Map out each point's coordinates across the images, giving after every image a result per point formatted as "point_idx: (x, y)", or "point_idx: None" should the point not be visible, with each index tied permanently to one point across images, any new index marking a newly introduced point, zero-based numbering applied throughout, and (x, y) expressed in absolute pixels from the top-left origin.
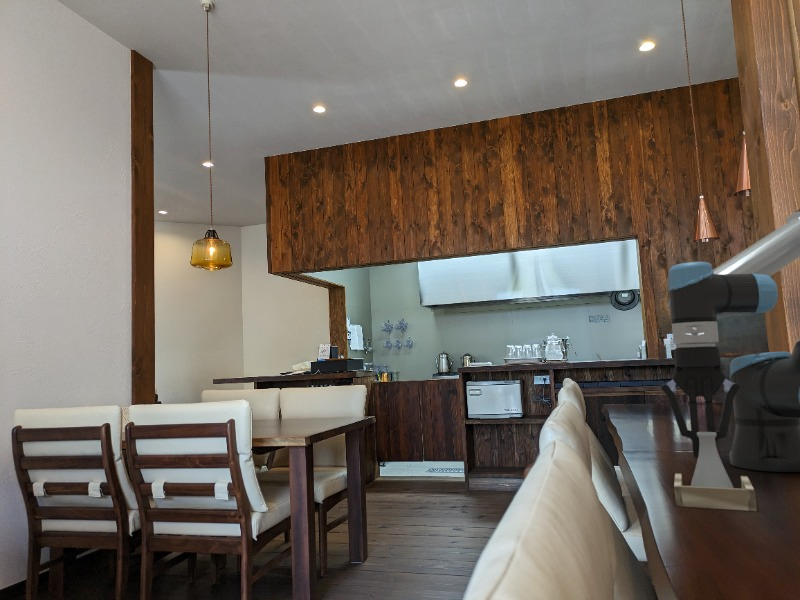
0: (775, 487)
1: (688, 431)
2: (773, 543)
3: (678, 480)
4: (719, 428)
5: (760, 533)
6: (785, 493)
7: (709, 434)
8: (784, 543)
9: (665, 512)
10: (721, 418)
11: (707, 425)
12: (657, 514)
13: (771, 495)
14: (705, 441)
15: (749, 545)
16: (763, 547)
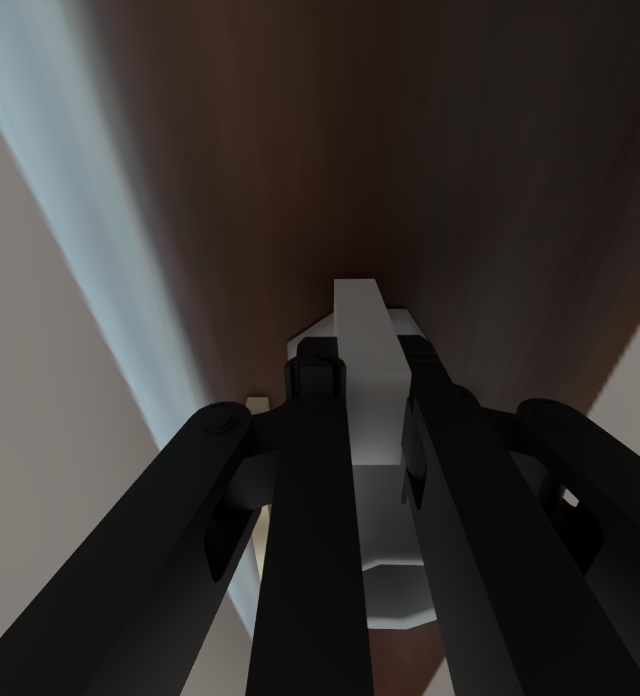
0: (622, 239)
1: (263, 501)
2: (418, 661)
3: (263, 534)
4: (545, 466)
5: (411, 636)
6: (604, 344)
7: (404, 624)
8: (433, 659)
9: (255, 579)
10: (638, 599)
11: (430, 573)
12: (243, 591)
13: (541, 385)
14: (372, 571)
15: (384, 670)
16: (401, 672)
